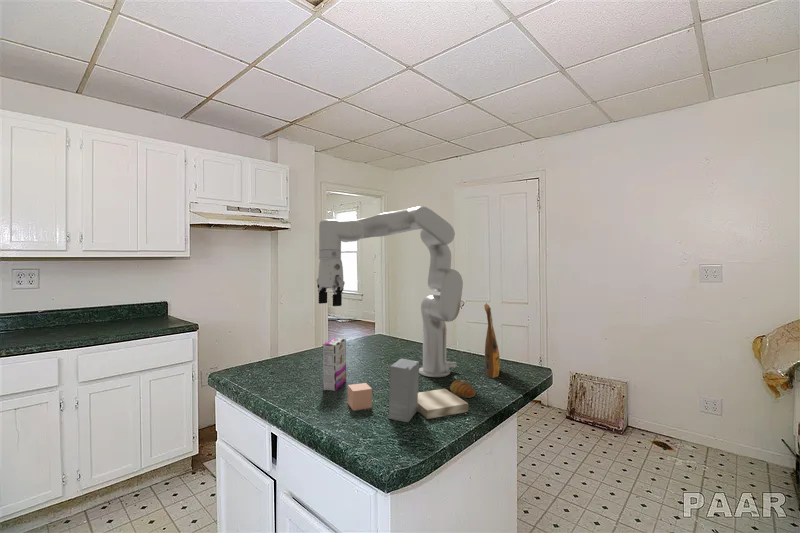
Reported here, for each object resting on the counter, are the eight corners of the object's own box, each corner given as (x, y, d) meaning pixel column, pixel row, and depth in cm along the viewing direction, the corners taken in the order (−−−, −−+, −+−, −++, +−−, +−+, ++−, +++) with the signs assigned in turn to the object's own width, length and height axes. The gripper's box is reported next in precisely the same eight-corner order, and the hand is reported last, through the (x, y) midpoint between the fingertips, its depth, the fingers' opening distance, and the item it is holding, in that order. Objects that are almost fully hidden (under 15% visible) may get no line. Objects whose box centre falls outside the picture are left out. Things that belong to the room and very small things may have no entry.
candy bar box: (333, 380, 141) (334, 337, 141) (346, 381, 140) (346, 338, 140) (321, 390, 130) (322, 343, 130) (335, 391, 129) (335, 344, 129)
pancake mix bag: (481, 378, 145) (481, 306, 144) (484, 365, 163) (484, 301, 162) (499, 380, 143) (499, 307, 142) (500, 366, 161) (500, 301, 161)
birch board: (444, 395, 126) (444, 388, 126) (468, 411, 113) (468, 403, 113) (407, 401, 120) (407, 394, 120) (427, 419, 108) (427, 410, 108)
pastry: (480, 397, 126) (480, 385, 126) (465, 401, 122) (465, 389, 122) (462, 388, 134) (462, 378, 134) (447, 392, 130) (447, 381, 130)
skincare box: (398, 408, 115) (398, 357, 115) (420, 412, 112) (420, 360, 112) (387, 419, 107) (387, 364, 107) (410, 423, 104) (410, 367, 104)
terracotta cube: (365, 401, 121) (365, 382, 121) (371, 407, 116) (371, 388, 116) (347, 403, 119) (347, 385, 119) (353, 410, 113) (353, 391, 113)
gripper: (352, 255, 125) (352, 306, 126) (327, 255, 139) (327, 301, 139) (333, 255, 121) (333, 308, 121) (308, 255, 134) (308, 303, 134)
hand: (329, 304), depth 130 cm, fingers open, 9 cm apart
